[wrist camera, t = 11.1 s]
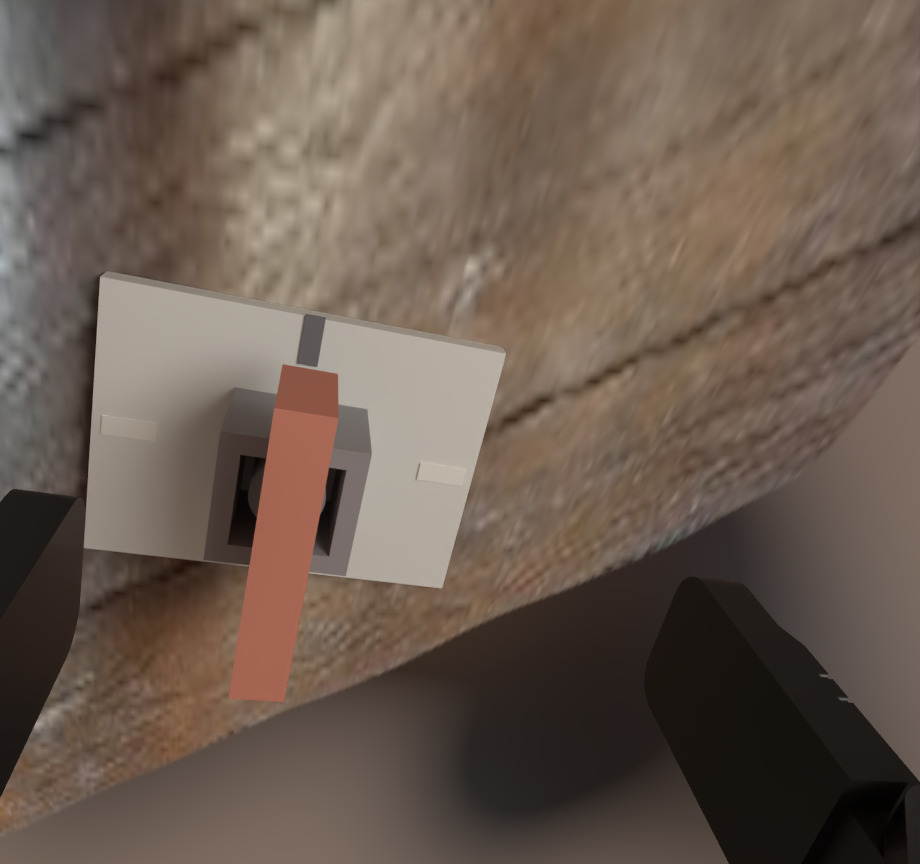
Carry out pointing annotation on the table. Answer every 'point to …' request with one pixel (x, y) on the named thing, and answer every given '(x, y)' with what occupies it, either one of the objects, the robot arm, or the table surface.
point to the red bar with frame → (285, 512)
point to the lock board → (259, 368)
